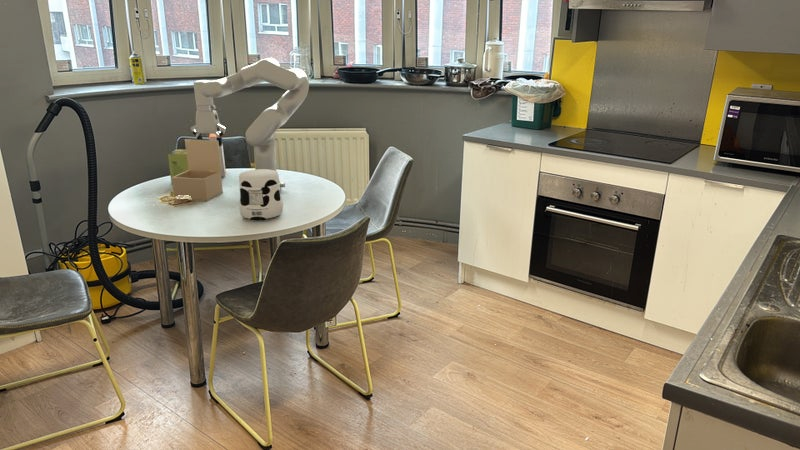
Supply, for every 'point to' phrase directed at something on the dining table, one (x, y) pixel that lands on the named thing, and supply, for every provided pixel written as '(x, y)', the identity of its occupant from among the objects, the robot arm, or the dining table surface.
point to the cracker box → (214, 137)
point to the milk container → (260, 195)
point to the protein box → (177, 162)
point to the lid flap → (203, 155)
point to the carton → (198, 184)
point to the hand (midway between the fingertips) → (210, 145)
